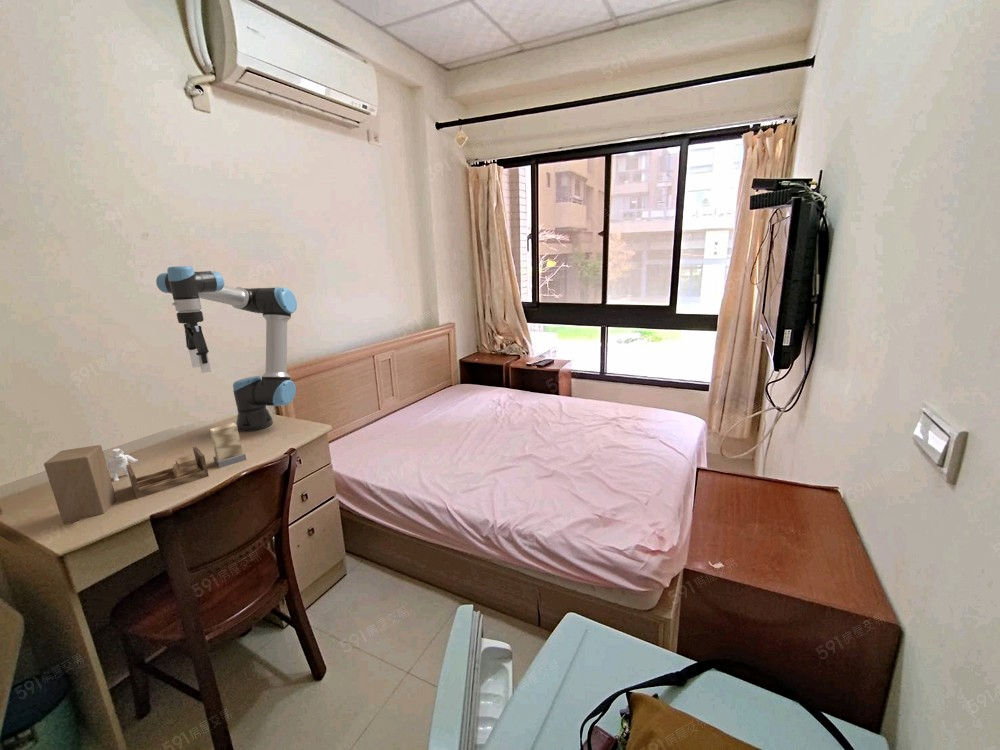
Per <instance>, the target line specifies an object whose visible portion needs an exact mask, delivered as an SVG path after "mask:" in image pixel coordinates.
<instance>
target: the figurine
mask: <svg viewBox="0 0 1000 750" xmlns="http://www.w3.org/2000/svg"><path fill="white" fill-rule="evenodd" d="M124 453H125V452H124V450H122V449H121V448H114V449H112V450H111V453H110V455H109V457H111V458H110V459H108V460H106V464H107V467H108V471H109V472H110V473H111V474H112V475H111V476H112V479H113V482H118V481H120V478H119V472H124V475H125V476H127V477H129V474H128V470H127V467H126V465H128V464H129V462H130V463H134V464H136V463H138V462H139V459H136V458H134V457H133V456H131V455H130V454H124Z"/></svg>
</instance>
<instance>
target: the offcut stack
mask: <svg viewBox="0 0 1000 750" xmlns="http://www.w3.org/2000/svg"><path fill="white" fill-rule="evenodd" d="M174 462H175V463H173V464H172V465H171V466H172V468H173V474H174V477H175V478H179V477H182V476H185V475H188V474H192V473H195V472H198V471H201V469H200V468H199V466H198V465H197V462H196V459H195V456H194V454H188V455H185V456H181V457H178V458H175V459H174Z"/></svg>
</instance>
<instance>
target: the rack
mask: <svg viewBox="0 0 1000 750" xmlns="http://www.w3.org/2000/svg"><path fill="white" fill-rule="evenodd" d="M192 450H193V456H194V458H195V459H196V462H197V465H198V466H199V468H200V469H201V471H198V472H195V473H192V474H188V475H185V476H182V477H179V478H175V477H174V474H173V467H170V468H166V469H163V470H160V471H159V470H158V471H155V472H153V473H149V474H146V475H143V476H139V477H136V474H135V472H134V470H133V467H132V466H131V464H130V463H128V465H126V467H127V470H128V474H129V476H128V477H129V481H130V484H131V488H132V490H133V492H134V494H135V497H136V499H141V498H143V497H146V496H151V495H154V494H157V493H160V492H163V491H166V490H168V489H173V488H175V487H179V486H182V485H185V484H188V483H191V482H195V481H197V480H201V479H204V478H208V477H209V476H210V475H209V472H208V467H207V461H206V459H205V455H204V453H202V451H201V450H200V449H199V448H198V447H197V446H192Z"/></svg>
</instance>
